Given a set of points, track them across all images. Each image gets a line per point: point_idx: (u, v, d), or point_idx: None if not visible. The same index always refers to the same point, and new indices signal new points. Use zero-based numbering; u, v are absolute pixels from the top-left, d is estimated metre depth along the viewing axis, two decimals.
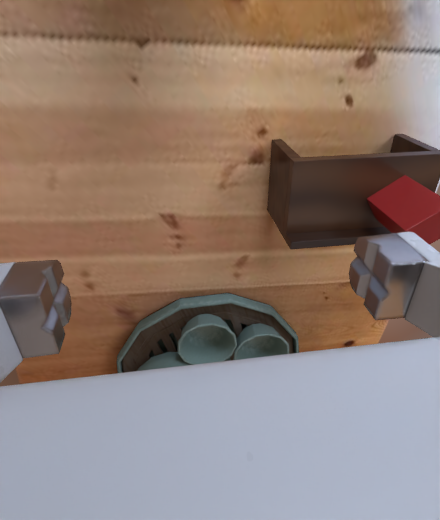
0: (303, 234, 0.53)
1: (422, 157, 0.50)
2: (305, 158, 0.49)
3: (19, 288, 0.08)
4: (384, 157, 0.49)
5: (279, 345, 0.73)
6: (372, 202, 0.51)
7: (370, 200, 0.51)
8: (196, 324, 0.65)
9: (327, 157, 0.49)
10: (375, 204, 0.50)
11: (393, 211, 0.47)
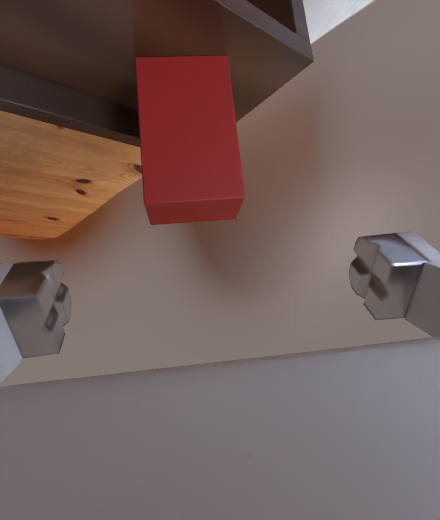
0: None
1: (273, 42, 0.23)
2: None
3: (19, 288, 0.08)
4: None
5: None
6: (138, 78, 0.23)
7: (138, 69, 0.23)
8: None
9: None
10: (139, 88, 0.23)
11: (155, 137, 0.22)
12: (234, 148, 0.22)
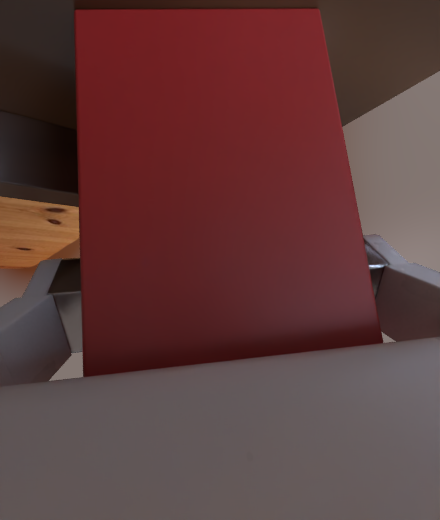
0: None
1: None
2: None
3: (71, 284, 0.08)
4: None
5: None
6: (80, 66, 0.08)
7: (81, 42, 0.08)
8: None
9: None
10: (83, 96, 0.08)
11: (125, 242, 0.07)
12: (357, 270, 0.08)
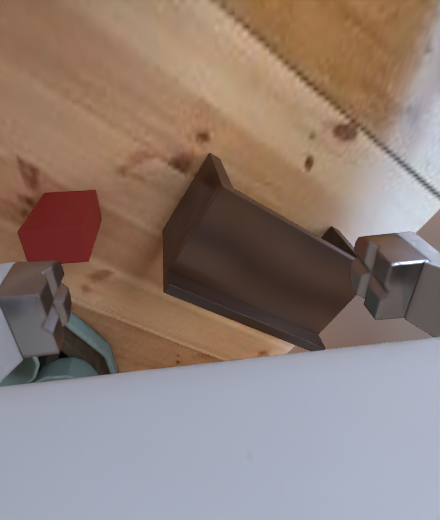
0: (188, 281, 0.39)
1: None
2: (237, 192, 0.36)
3: (19, 288, 0.08)
4: (319, 242, 0.40)
5: None
6: (42, 197, 0.42)
7: (43, 195, 0.43)
8: None
9: (262, 206, 0.37)
10: (40, 200, 0.42)
11: (39, 212, 0.39)
12: (83, 213, 0.39)
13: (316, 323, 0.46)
